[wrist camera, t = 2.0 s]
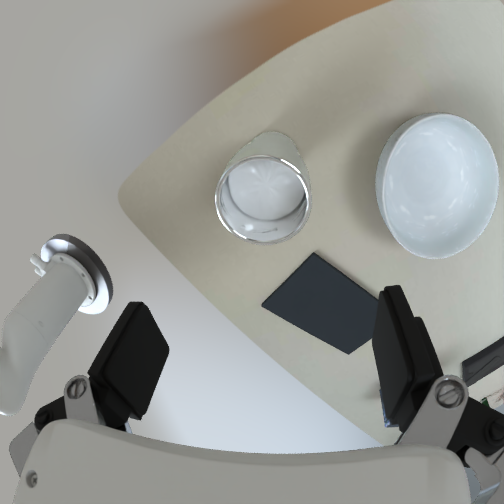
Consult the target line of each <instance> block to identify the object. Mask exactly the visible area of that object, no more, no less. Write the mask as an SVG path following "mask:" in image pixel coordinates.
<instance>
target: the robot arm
mask: <svg viewBox="0 0 504 504" xmlns="http://www.w3.org/2000/svg"><path fill="white" fill-rule="evenodd" d="M30 262H32V263H33V264H34V265H35V266H36V268H35V272H36V273H37V274H38V275H40V276H41V277H42V278H41V279H40V280H39V281H38V282H37V283H36V284H35V285H34V286H33V287H32V288H31V289H30V291H29V292H28V293H27V294H26V295H25V296H24V297H23V298H22V300H20V302H19V303H18V304H17V305H16V306H15V308H14V309H13V310H12V311H11V312H10V313H9V315H8V316H7V317H6V319H5V321H4V324H3V328H2V348H1V347H0V414H2V415H6V416H13V415H15V414H17V413H18V412H19V411H20V409H21V408H22V406H23V403H24V401H25V399H26V395H27V393H28V390H29V387H30V384H31V382H32V379H33V377H34V374H35V373H36V371H37V369H38V367H39V365H40V364H41V362H42V361H43V359H44V357H45V356H46V354H47V353H48V351H49V350H50V348H51V347H52V345H53V344H54V342H55V341H56V339H57V338H58V336H59V335H60V334H61V332H62V330H63V329H64V328H65V326H66V325H67V324H68V322H69V321H70V319H71V318H72V317H73V315H74V314H75V313H76V311H77V310H78V309H79V307H80V306H82V307H86V306H89V305H91V304H92V303H93V301H94V300H95V298H96V287H95V284H94V281H93V279H92V277H91V276H90V274H89V272H88V271H87V270H86V268H85V267H84V266H83V265H82V264H81V263H80V262H79V261H78V260H76V259H75V258H73V257H72V256H70V255H68V254H65V253H56V254H54V255H53V256H52V257H51V258H50V259H49V261H48V262H47V261H45V262H44V261H43V260H42V259H41V258H40V257H38V256H37V255H36V254H33V255H32V257H31V259H30ZM372 346H373V351H374V356H375V360H376V365H377V370H378V375H379V380H380V386H381V391H382V397H383V403H384V409H385V415H386V418H387V419H391V425H396V424H399V430H400V431H401V432H402V433H401V434H400V436H399V437H398V439H397V440H396V442H395V443H394V445H392V446H383V447H375V448H367V449H358V450H349V451H340V452H339V451H338V452H325V453H306V454H262V453H244V452H243V453H242V452H232V451H221V450H213V449H212V450H211V449H205V448H198V447H191V446H185V445H180V444H174V443H169V442H164V441H160V440H155V439H151V438H146V437H142V436H138V435H135V434H132V431H131V428H130V426H129V423H128V418H129V417H130V418H133V419H136V420H141V419H142V416H143V415H144V414H145V413H146V411H147V409H148V406H149V404H150V401H151V398H152V396H153V393H154V390H155V388H156V385H157V383H158V380H159V377H160V375H161V372H162V370H163V367H164V365H165V362H166V359H167V357H168V354H169V346H168V344H167V342H166V340H165V338H164V337H163V335H162V333H161V331H160V329H159V328H158V326H157V324H156V322H155V320H154V318H153V316H152V314H151V312H150V310H149V308H148V307H147V306H146V305H145V304H144V303H143V302H129V303H128V305H127V306H126V308H125V309H124V311H123V313H122V314H121V316H120V317H119V319H118V321H117V322H116V324H115V326H114V327H113V329H112V330H111V332H110V334H109V336H108V337H107V339H106V341H105V343H104V344H103V346H102V348H101V349H100V351H99V353H98V354H97V356H96V358H95V360H94V362H93V363H92V365H91V367H90V369H89V370H88V374H89V375H90V377H89V379H88V378H87V377H86V376H84V375H78V376H75V377H73V378H71V379H70V380H69V381H68V383H67V384H66V386H65V389H64V396H62V397H60V398H59V399H57V400H55V401H53V402H51V403H49V404H47V405H45V406H43V407H42V408H40V409H39V411H38V412H37V414H36V415H35V423H33V422H31V423H30V424H29V425H28V426H27V427H26V428H25V429H24V430H23V431H22V432H21V433H20V434H18V435H17V436H16V437H15V438H14V439H13V441H12V442H11V444H10V447H9V451H10V455H11V458H12V460H13V463H14V465H15V467H16V470H17V472H18V474H19V476H20V480H19V483H18V486H17V489H16V493H15V496H14V500H13V504H471V496H470V489H469V484H468V479H467V475H466V472H465V469H464V467H467V468H470V467H471V468H472V469H473V471H474V472H475V473H476V474H475V477H476V478H477V479H478V481H479V483H480V492H479V495H478V497H477V498H476V500H475V501H474V502H473V503H472V504H504V414H502V413H500V412H498V411H496V410H494V409H492V408H490V407H488V406H486V405H484V404H482V403H480V402H478V401H476V400H474V399H473V398H471V397H469V392H468V388H467V385H466V383H465V382H464V381H463V380H462V379H461V378H459V377H457V376H454V375H445V376H444V374H443V371H442V369H441V366H440V363H439V360H438V357H437V355H436V352H435V349H434V347H433V344H432V342H431V339H430V337H429V334H428V332H427V329H426V327H425V324H424V322H423V320H422V318H420V317H414V316H413V313H412V311H411V308H410V306H409V304H408V301H407V299H406V297H405V295H404V292H403V290H402V288H401V286H400V285H394V286H386V287H385V288H384V291H380V294H379V301H378V308H377V314H376V320H375V326H374V332H373V337H372Z"/></svg>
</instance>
